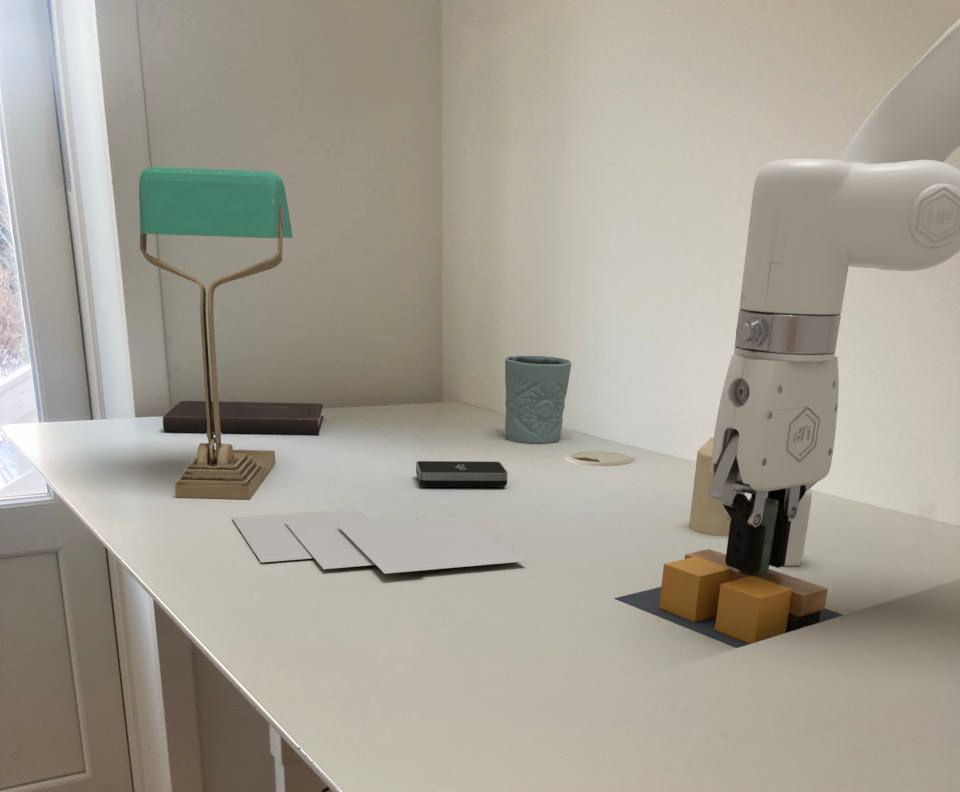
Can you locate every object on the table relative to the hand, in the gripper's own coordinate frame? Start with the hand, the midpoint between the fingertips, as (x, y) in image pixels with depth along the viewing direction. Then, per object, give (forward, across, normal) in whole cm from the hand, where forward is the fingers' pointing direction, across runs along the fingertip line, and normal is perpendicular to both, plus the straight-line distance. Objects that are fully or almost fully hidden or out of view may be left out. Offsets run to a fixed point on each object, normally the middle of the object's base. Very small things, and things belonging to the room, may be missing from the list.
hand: (754, 564), depth 85 cm
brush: (+4, 0, 0) cm, 4 cm away
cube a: (+4, -4, -3) cm, 6 cm away
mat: (+5, 0, 0) cm, 5 cm away
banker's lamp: (+5, -16, +68) cm, 70 cm away
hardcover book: (+5, +2, +101) cm, 101 cm away
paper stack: (+5, -16, +35) cm, 39 cm away
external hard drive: (+5, +8, +52) cm, 53 cm away
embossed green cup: (+5, +36, +71) cm, 80 cm away
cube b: (+4, -4, +3) cm, 6 cm away
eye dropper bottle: (+5, +16, +9) cm, 19 cm away
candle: (+5, +19, +20) cm, 28 cm away
